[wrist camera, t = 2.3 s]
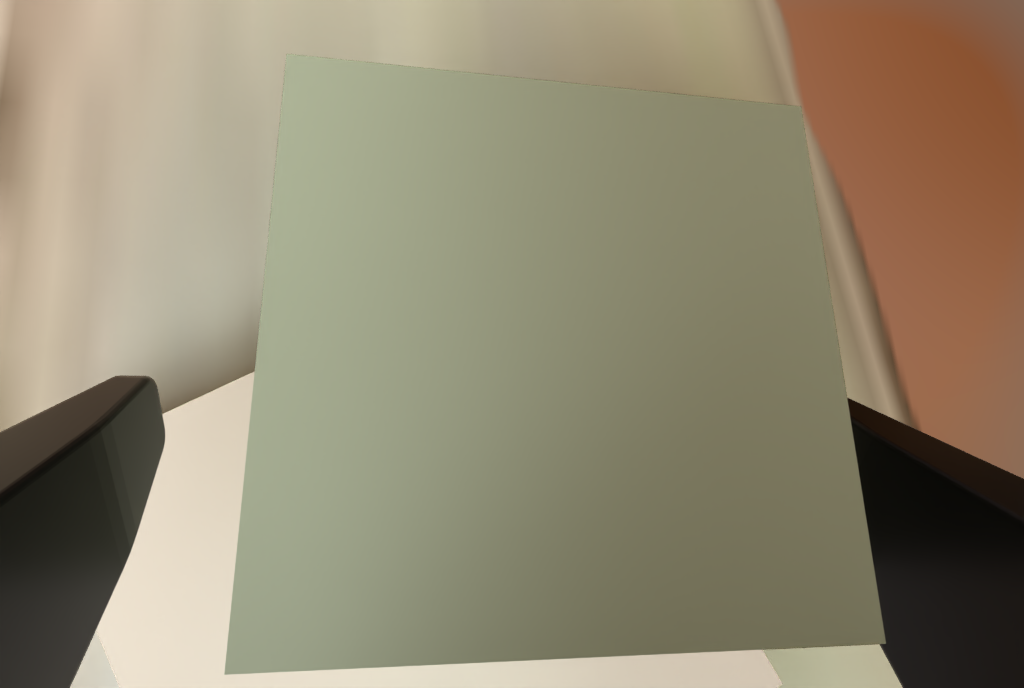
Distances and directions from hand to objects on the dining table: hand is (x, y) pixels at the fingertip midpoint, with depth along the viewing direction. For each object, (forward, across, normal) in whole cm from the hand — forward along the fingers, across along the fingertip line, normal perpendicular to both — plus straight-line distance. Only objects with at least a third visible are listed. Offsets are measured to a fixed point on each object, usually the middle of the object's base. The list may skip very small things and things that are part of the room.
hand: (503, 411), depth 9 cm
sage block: (+4, 0, +4) cm, 6 cm away
